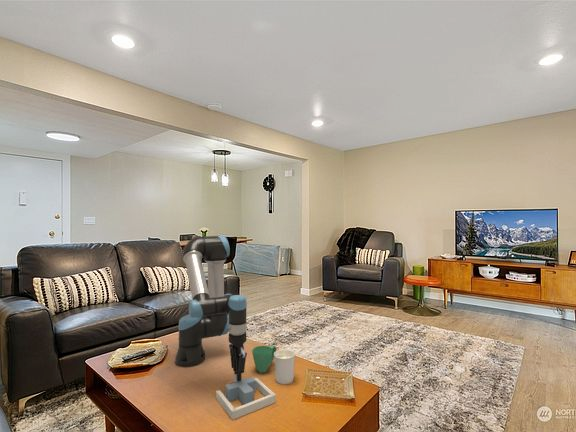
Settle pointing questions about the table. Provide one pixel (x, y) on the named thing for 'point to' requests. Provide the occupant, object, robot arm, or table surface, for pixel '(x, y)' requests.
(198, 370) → the table surface
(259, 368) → the mug
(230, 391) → the t block
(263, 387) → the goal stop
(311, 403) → the table surface
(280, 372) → the candle holder
